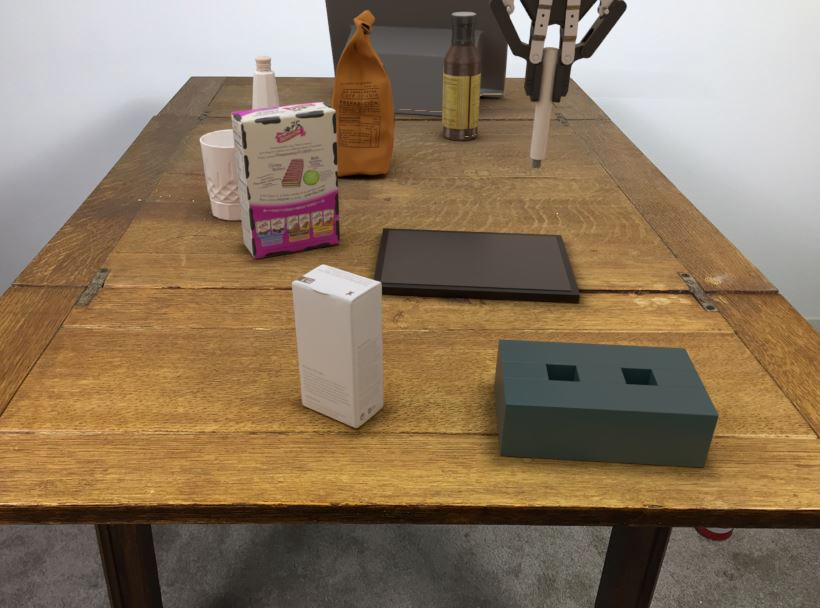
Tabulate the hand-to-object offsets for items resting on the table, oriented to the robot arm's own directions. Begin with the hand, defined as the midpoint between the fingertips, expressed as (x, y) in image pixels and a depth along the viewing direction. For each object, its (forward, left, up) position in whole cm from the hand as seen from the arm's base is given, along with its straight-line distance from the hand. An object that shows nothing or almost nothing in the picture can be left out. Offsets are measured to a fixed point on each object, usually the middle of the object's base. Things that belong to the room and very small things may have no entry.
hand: (544, 99), depth 80 cm
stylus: (0, 0, -7) cm, 7 cm away
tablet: (+6, -1, -20) cm, 20 cm away
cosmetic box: (+18, +28, -20) cm, 39 cm away
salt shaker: (+42, -60, -20) cm, 76 cm away
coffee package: (+22, -35, -20) cm, 46 cm away
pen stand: (-3, +28, -20) cm, 35 cm away
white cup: (+37, -15, -20) cm, 44 cm away
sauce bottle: (+7, -53, -20) cm, 57 cm away
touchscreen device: (+16, -76, -20) cm, 80 cm away
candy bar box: (+28, -5, -20) cm, 34 cm away
